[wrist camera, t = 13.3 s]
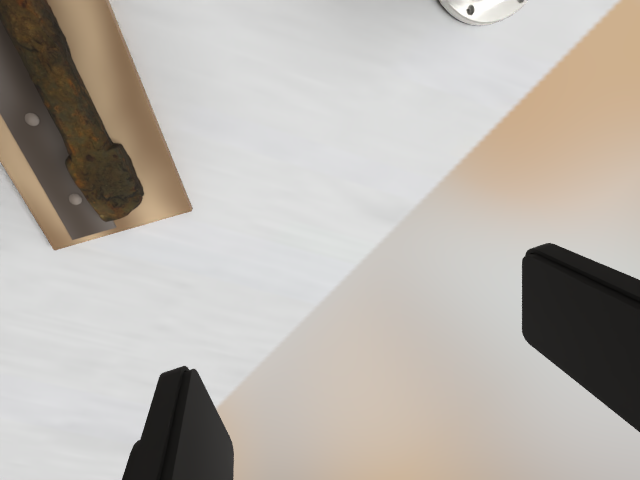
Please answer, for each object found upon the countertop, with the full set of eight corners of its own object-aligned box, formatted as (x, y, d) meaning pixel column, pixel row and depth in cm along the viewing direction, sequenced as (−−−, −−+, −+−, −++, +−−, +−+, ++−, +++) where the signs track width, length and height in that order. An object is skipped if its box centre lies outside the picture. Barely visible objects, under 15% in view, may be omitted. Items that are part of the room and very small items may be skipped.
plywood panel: (84, -60, 26) (76, -68, 25) (192, 208, 35) (190, 211, 33) (-102, -25, 25) (-120, -32, 23) (59, 246, 33) (52, 251, 32)
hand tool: (-54, -47, 21) (29, -56, 22) (-15, -23, 25) (55, -32, 26) (88, 232, 28) (146, 217, 29) (102, 219, 32) (153, 206, 33)
